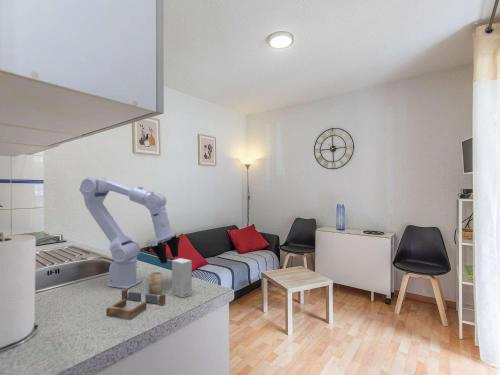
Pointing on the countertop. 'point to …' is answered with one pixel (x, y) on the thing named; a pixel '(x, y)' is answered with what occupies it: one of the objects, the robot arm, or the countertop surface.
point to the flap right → (152, 298)
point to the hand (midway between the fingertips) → (170, 259)
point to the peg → (155, 283)
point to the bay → (124, 310)
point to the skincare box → (181, 277)
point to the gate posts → (161, 297)
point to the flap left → (134, 295)
